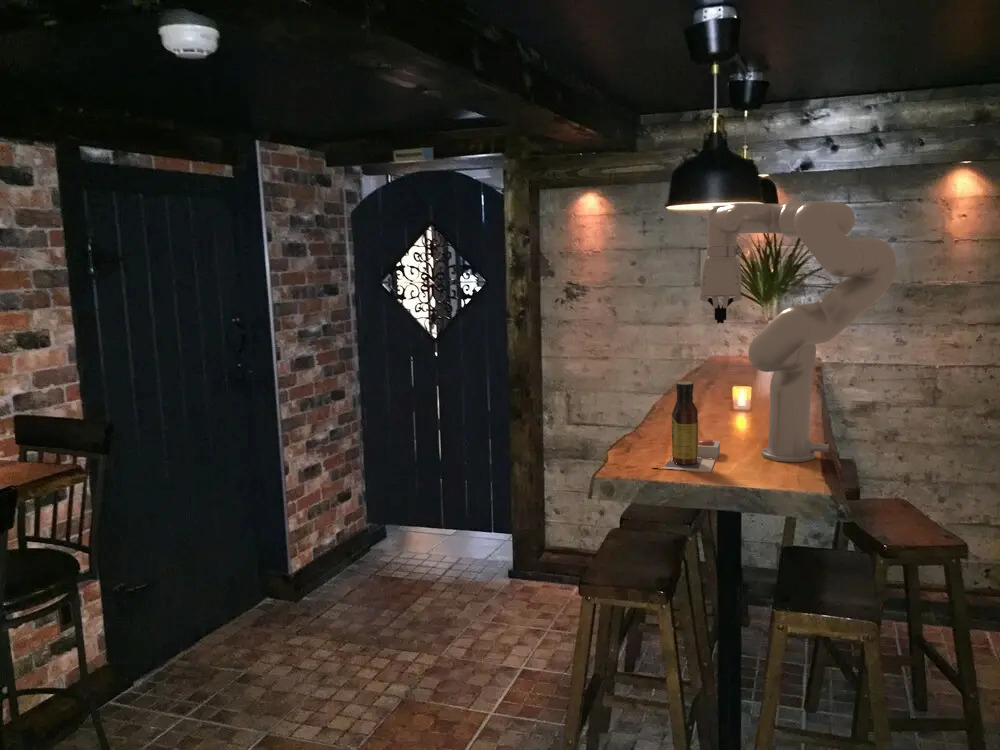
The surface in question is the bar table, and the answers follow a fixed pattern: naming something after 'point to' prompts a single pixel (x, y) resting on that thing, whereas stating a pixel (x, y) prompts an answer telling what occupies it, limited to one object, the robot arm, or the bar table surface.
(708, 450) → the button housing
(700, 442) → the button
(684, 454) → the sauce bottle
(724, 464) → the bar table surface
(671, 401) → the bar table surface
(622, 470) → the bar table surface
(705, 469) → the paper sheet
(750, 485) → the bar table surface
